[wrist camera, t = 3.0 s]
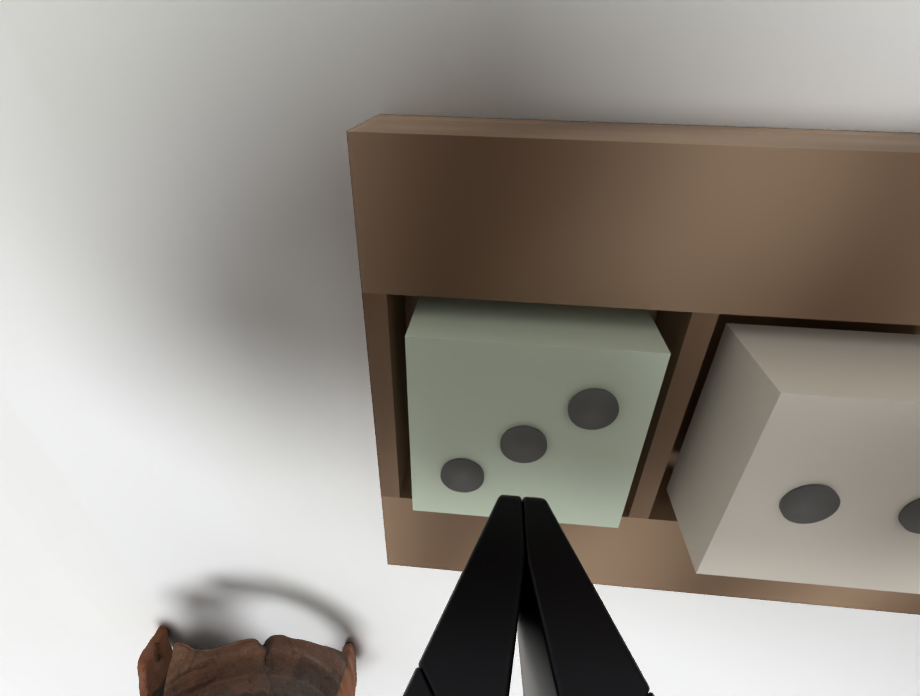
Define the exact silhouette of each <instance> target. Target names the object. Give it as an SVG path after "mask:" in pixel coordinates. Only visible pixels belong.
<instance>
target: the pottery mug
mask: <svg viewBox="0 0 920 696" xmlns="http://www.w3.org/2000/svg"><path fill="white" fill-rule="evenodd" d="M137 669H138V676H139V690H140V696H355V687H356V683H357V673H356V657H355V650H354V647H353V644H352V643H347V644H346V645H345V646H344V647H343V650H342V652H341V651H338V650H336V649H333V648H330V647H327V646H322V645H318V644H316V643H312V642H309V641H305V640H300V639H293V638H289V637H287V636H284V635H273V636H271V637H269V638H268V639H267V640H266V642H265V643H264V645H263V646H262V645H261V644H260V643H259V642H258V641H257V640H256V639H246V640H239V641H236V642H234V643H232V644H228V645H224V646H220V647H217V648H214V649H207V650H197V649H194V648H192V647H190V646H189V645H187V644H185V643H180V642H177V643H175V644H174V646H173V650H172V647H171V644H170V642H169V638H168V629H167V628H166V627H164V626H160V627H159V628H158V629H157V631H156V633H155V635H154V636H153V637H152V639H151V640H150V642H149V643H148V645H147V646H146V648H145V649H144V650H143V652H142V653H141V655H140V658H139V660H138V667H137Z"/></svg>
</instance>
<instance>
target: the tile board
mask: <svg viewBox="0 0 920 696" xmlns="http://www.w3.org/2000/svg"><path fill="white" fill-rule="evenodd" d="M347 141H348V152H349V162H350V173H351V183H352V194H353V204H354V215H355V225H356V236H357V246H358V257H359V267H360V278H361V288H362V299H363V309H364V320H365V330H366V341H367V351H368V362H369V372H370V382H371V393H372V403H373V414H374V424H375V435H376V445H377V456H378V466H379V477H380V487H381V498H382V508H383V519H384V529H385V540H386V550H387V561H388V564H390V565H401V566H411V567H422V568H432V569H443V570H453V571H463V570H464V568H465V566H466V564H467V561H468V559H469V557H470V555H471V553H472V551H473V549H474V547H475V545H476V543H477V541H478V538H479V536H480V534H481V532H482V530H483V528H484V526H485V524H486V522H487V520H488V518H489V517H485V516H473V515H462V514H450V513H439V512H427V511H416V510H413V503H412V481H411V459H410V437H409V416H408V394H407V372H406V350H405V335H406V332H407V329H408V327H409V324H410V321H411V318H412V316H413V313H414V310H415V307H416V305H417V302H418V299H419V296H424V297H441V298H458V299H475V300H493V301H510V302H527V303H544V304H561V305H578V306H595V307H612V308H629V309H646V310H648V311H649V313H650V315H651V317H652V319H653V320H654V322H655V324H656V326H657V328H658V330H659V332H660V334H661V336H662V338H663V340H664V342H665V343H666V345H667V347H668V349H669V351H670V353H671V355H670V358H669V362H668V365H667V368H666V372H665V375H664V378H663V381H662V385H661V388H660V391H659V395H658V398H657V401H656V405H655V408H654V411H653V415H652V418H651V421H650V425H649V428H648V431H647V434H646V438H645V441H644V444H643V448H642V451H641V454H640V458H639V461H638V464H637V468H636V471H635V474H634V478H633V481H632V484H631V487H630V491H629V494H628V497H627V501H626V504H625V507H624V511H623V514H622V517H621V521H620V524H619V527H618V528H611V527H599V526H588V525H576V524H565V523H559V524H560V526H561V528H562V530H563V531H564V533H565V535H566V537H567V539H568V540H569V542H570V544H571V546H572V548H573V550H574V551H575V553H576V555H577V557H578V559H579V560H580V562H581V564H582V566H583V568H584V569H585V571H586V573H587V575H588V577H589V579H590V580H591V582H592V584H601V585H612V586H622V587H633V588H644V589H654V590H665V591H675V592H686V593H696V594H707V595H717V596H728V597H739V598H749V599H760V600H770V601H781V602H791V603H802V604H812V605H823V606H834V607H844V608H855V609H865V610H876V611H886V612H897V613H908V614H918V615H920V594H913V593H902V592H892V591H881V590H870V589H859V588H848V587H837V586H826V585H816V584H805V583H794V582H783V581H772V580H761V579H750V578H740V577H729V576H718V575H707V574H696V572H695V569H694V566H693V563H692V561H691V558H690V555H689V552H688V549H687V546H686V544H685V541H684V538H683V535H682V532H681V529H680V527H679V524H678V521H677V518H676V515H675V512H674V509H673V507H672V504H671V501H670V498H669V495H668V492H667V490H666V489H667V486H668V483H669V481H670V478H671V475H672V472H673V470H674V467H675V464H676V461H677V458H678V456H679V453H680V450H681V447H682V445H683V442H684V439H685V436H686V433H687V431H688V428H689V425H690V422H691V420H692V417H693V414H694V411H695V408H696V406H697V403H698V400H699V397H700V395H701V392H702V389H703V386H704V383H705V381H706V378H707V375H708V372H709V370H710V367H711V364H712V361H713V358H714V356H715V353H716V350H717V347H718V345H719V342H720V339H721V336H722V333H723V331H724V328H725V325H726V323H734V324H751V325H767V326H784V327H801V328H817V329H834V330H851V331H868V332H884V333H901V334H918V335H920V133H899V132H870V131H841V130H813V129H784V128H755V127H727V126H698V125H669V124H641V123H612V122H583V121H555V120H526V119H497V118H469V117H440V116H411V115H382V114H379V115H377V116H375V117H373V118H371V119H369V120H367V121H366V122H364V123H362V124H360V125H358V126H356V127H354V128H352V129H350V130H348V131H347Z"/></svg>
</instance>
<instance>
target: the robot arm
mask: <svg viewBox="0 0 920 696" xmlns="http://www.w3.org/2000/svg"><path fill="white" fill-rule="evenodd" d="M517 632H518V643H519V654H520V664H521V674H522V685H523V695H524V696H654V694H653V693H651V692H649V689H650V688H649V686H648V684H647V682H646V680H645V678H644V676H643V675H642V673H641V671H640V669H639V667H638V666H637V664H636V662H635V660H634V658H633V657H632V655H631V653H630V651H629V649H628V647H627V646H626V644H625V642H624V640H623V638H622V637H621V635H620V633H619V631H618V629H617V628H616V626H615V624H614V622H613V620H612V618H611V617H610V615H609V613H608V611H607V609H606V608H605V606H604V604H603V602H602V600H601V599H600V597H599V595H598V593H597V591H596V589H595V588H594V586H593V584H592V582H591V580H590V579H589V577H588V575H587V573H586V571H585V569H584V568H583V566H582V564H581V562H580V560H579V559H578V557H577V555H576V553H575V551H574V550H573V548H572V546H571V544H570V542H569V540H568V539H567V537H566V535H565V533H564V531H563V530H562V528H561V526H560V524H559V522H558V521H557V519H556V517H555V515H554V513H553V511H552V510H551V508H550V506H549V504H548V503H547V501H546V500H545V499H544V498H537V497H524V498H523V499H521V497H520V496H513V495H500V496H499V497H498V499H497V501H496V503H495V505H494V507H493V509H492V511H491V513H490V516H489V518H488V520H487V522H486V524H485V526H484V528H483V530H482V532H481V534H480V536H479V538H478V541H477V543H476V545H475V547H474V549H473V551H472V553H471V555H470V557H469V559H468V561H467V564H466V566H465V568H464V570H463V572H462V574H461V576H460V578H459V580H458V582H457V584H456V586H455V589H454V591H453V593H452V595H451V597H450V599H449V601H448V603H447V605H446V607H445V609H444V611H443V614H442V616H441V618H440V620H439V622H438V624H437V626H436V628H435V630H434V632H433V634H432V637H431V639H430V641H429V643H428V645H427V647H426V649H425V651H424V653H423V655H422V657H421V659H420V662H419V668H416V669H415V671H414V673H413V675H412V678H411V680H410V682H409V684H408V686H407V688H406V690H405V692H404V694H403V696H509V691H510V683H511V674H512V666H513V658H514V650H515V642H516V633H517ZM648 692H649V693H648Z"/></svg>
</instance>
